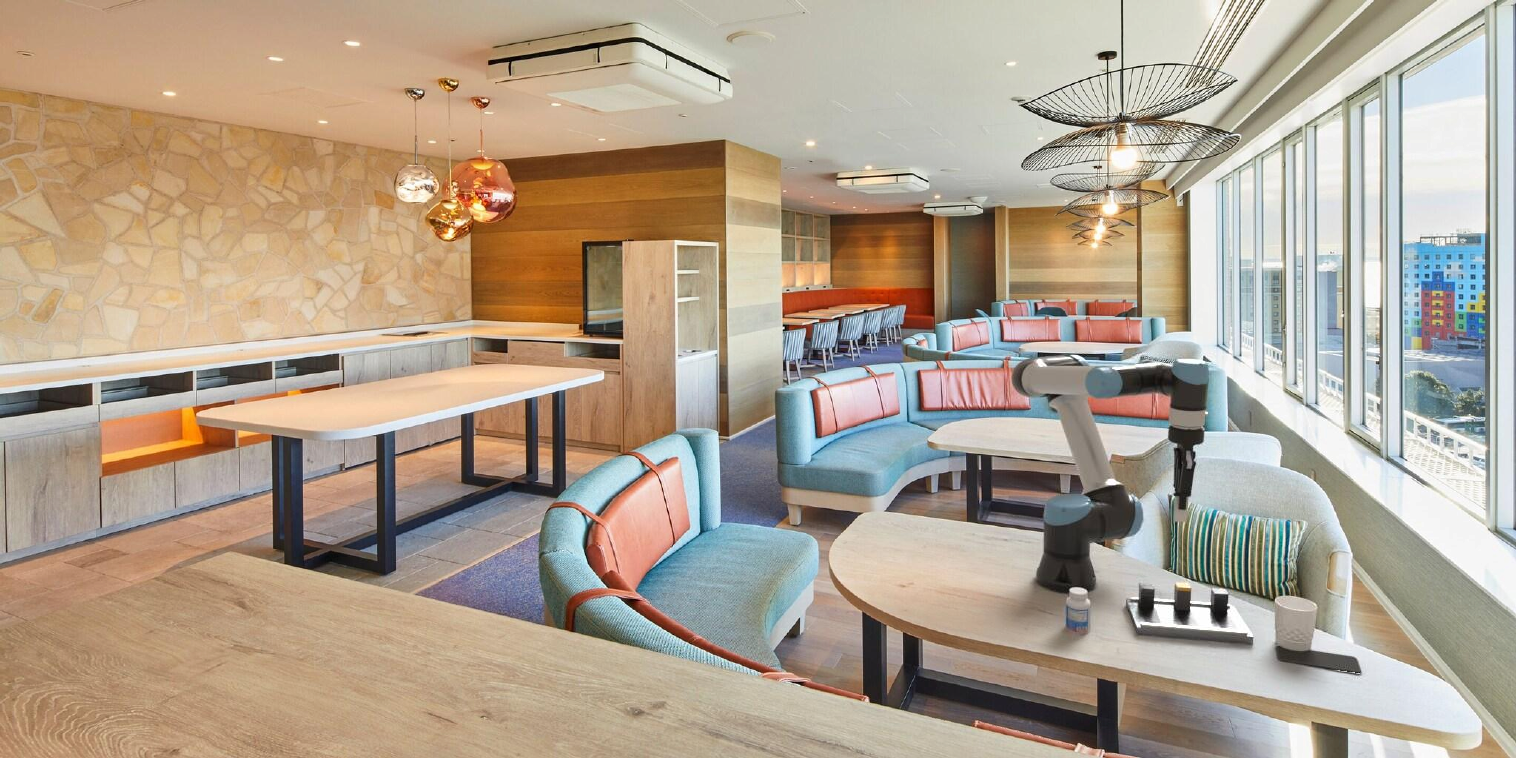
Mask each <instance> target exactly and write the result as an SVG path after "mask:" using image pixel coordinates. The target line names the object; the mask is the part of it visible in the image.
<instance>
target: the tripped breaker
mask: <svg viewBox="0 0 1516 758" xmlns="http://www.w3.org/2000/svg"><path fill="white" fill-rule="evenodd" d="M1173 593H1174V594H1173V596H1174V598H1173V600H1174V606H1175V608H1176V610H1185V611H1190V606H1191V601H1192V600H1191V599H1192V587H1191V585H1190V583H1189V582H1178V581H1175V582H1174V592H1173Z"/></svg>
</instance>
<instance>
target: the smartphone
mask: <svg viewBox="0 0 1516 758" xmlns="http://www.w3.org/2000/svg"><path fill="white" fill-rule="evenodd" d="M1275 654H1276V655H1275V656H1276V659H1277V660H1278V661H1279V662H1283V663H1289V664H1294V665H1300V666H1307V667H1311V668H1316V669H1317V668H1318V669H1322V668H1323V669H1324V670H1328V671H1333V670H1340V671H1347V672H1355V673H1361V674H1362V669H1361V667H1360V666H1361V665H1360V662H1359V660H1358V658H1357V657H1355V656H1352V655H1346V654H1339V653H1333V652H1326V651H1325V652H1324V651H1319V650H1312V649H1311V650H1307V651H1295V650H1290V649H1286V648H1283V647H1281V646H1278V645H1276V646H1275Z"/></svg>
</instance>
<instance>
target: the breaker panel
mask: <svg viewBox="0 0 1516 758" xmlns="http://www.w3.org/2000/svg"><path fill="white" fill-rule="evenodd" d="M1155 593H1156V590H1155V586H1154V585H1153V584H1152V583H1139V582H1138V597H1135V596H1131V597H1130V598H1128V597H1125V608H1126V609H1127V613H1128V615H1129V619H1130V620H1131V623H1132V627H1133V628H1134V631H1135V634H1136V636H1141V637H1152V638H1154V637H1155V638H1163V639H1164V638H1165V639H1175V640H1176V639H1179V640H1191V641H1199V642H1200V641H1202V642H1214V643H1224V644H1225V643H1226V644H1227V643H1228V644H1237V645H1238V644H1239V645H1250V646H1254V635H1253V633H1252V632H1251V631H1250V629H1249V628H1248V626H1247V624H1246V623H1245V621H1244V620H1243V619H1242V617H1241V615H1240V614H1239V612H1238V611H1237V609H1236V608H1235V606H1233V605H1231V604H1230V603H1229V593H1228V591H1227V590H1226V589H1225V588H1214V587H1211V588H1210V602H1206V601H1205V602H1203V601H1192V600H1191V606H1190V611H1185V610H1176V608H1175V606H1174V599H1164V598H1162V599H1161V598H1155Z"/></svg>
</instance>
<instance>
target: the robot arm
mask: <svg viewBox="0 0 1516 758" xmlns="http://www.w3.org/2000/svg"><path fill="white" fill-rule="evenodd" d="M1209 370H1210V369H1209V364H1208V363H1207V361H1205V360H1203V359H1196V358H1178V359H1175V360H1174V361H1173V363H1172V364H1170V363H1166V362H1161V361H1158V360H1157V359H1156V360H1155V359H1152V360H1151V359H1142V360H1140V361H1138V362H1136V363H1135V364H1134V363H1133V364H1127V365H1113V366H1112V365H1101V366H1100V365H1090V364H1089V362H1088V361H1087V360H1086V359H1085V358H1084V357H1082V356H1080V355H1078V354H1065V353H1063V354H1060V355H1047V356H1039V357H1038V356H1037V357H1029V358H1026V359H1022V361H1020V362H1018V363H1017V364H1016V366H1015V367H1014V368H1013V370H1012V373H1011V377H1010V379H1011V385H1012V387H1013V388H1014V390H1015V391H1016V392H1017V393H1018V394H1019V395H1021V396H1023V397H1026V398H1033V399H1034V398H1035V399H1037V398H1046V399H1047V403H1048V405H1049V407H1050V408H1053V409H1055V410H1056V411H1057V415H1058V418H1059V421H1060V423H1061V426H1062V430H1063V432H1064V435H1065V437H1066V441H1067V444H1068V447H1069V450H1070V452H1071V455H1072V459H1073V461H1074V464H1075V467H1076V469H1077V470H1076V471H1077V473H1078V477H1079V478H1080V482H1081V484H1082V488H1083V490H1082V492H1081V493H1060V494H1056V495H1053V496H1051V497H1050V498H1048V500H1046V502H1045V504H1044V509H1043V510H1044V511H1043V515H1042V517H1043V547H1042V549H1043V551H1042V556H1041V558H1040V562H1039V565H1038V567H1037V568H1036V572H1035V580H1037V581H1036V583H1037V584H1038V583H1039V584H1038V585H1040V586H1041V587H1042V588H1045V589H1048V590H1050V591H1052V592H1057V593H1064V594H1069V590H1070V589H1071V588H1074V587H1079V588H1083V589H1085V590H1087V592H1091V591H1093V590H1095V589H1096V586H1097V576H1096V574H1095V569H1094V567H1093V563H1092V560H1091V557H1090V553H1091V552H1090V551H1091V544H1094V543H1100V542H1101V543H1102V542H1107V541H1108V542H1109V541H1114V540H1123V539H1126V538H1130V537H1133V536H1135V535H1136V534H1138V533H1139V532H1140V531H1141V527H1142V524H1143V523H1144V510H1143V509H1144V508H1143V505H1142V502H1141V501H1140V499H1139V498H1138V497H1137V496H1136V495H1135V494H1133V493H1131V492H1127V490H1126V487H1125V484H1123V483H1122V482H1120V481H1118V480H1116V477H1115V474H1114V472H1113V468H1112V466H1111V463H1110V460H1109V457H1108V454H1107V451H1106V449H1105V446H1104V444H1103V440H1102V438H1101V435H1100V431H1099V430H1098V426H1097V423H1096V421H1095V419H1094V415H1093V413H1092V410H1091V407H1090V405H1089V402H1088V400H1089V398H1090V397H1092V398H1094V399H1102V400H1105V399H1107V400H1108V399H1112V398H1113V399H1114V398H1121V397H1128V396H1129V397H1131V396H1132V397H1133V396H1142V395H1151V394H1153V395H1154V394H1157V395H1158V394H1159V395H1162V396H1165V397H1170V402H1169V403H1170V404H1169V410H1168V411H1169V414H1168V423H1169V425H1168V429H1167V431H1168V434H1167V439H1168V441H1169V442H1171V443H1173V444H1176V446H1175V447H1173V458H1174V459H1173V485H1172V486H1173V488H1174V490H1173V497H1174V501H1173V502H1174V503H1173V516H1172V518H1173V519H1172V520H1173V522H1176V523H1188V510H1189V509H1188V508H1189V498H1190V497H1192V489H1193V484H1194V474H1195V469H1196V466H1197V461H1196V460H1195V459H1196V451H1195V450H1194V446H1197V445H1198V446H1199V445H1202V444H1203V443H1204V441H1205V430H1206V429H1205V428H1204V426H1205V424H1206V417H1208V416H1209V413H1208V411H1207V402H1208V388H1209V381H1210V378H1209V374H1210V373H1209Z"/></svg>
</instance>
